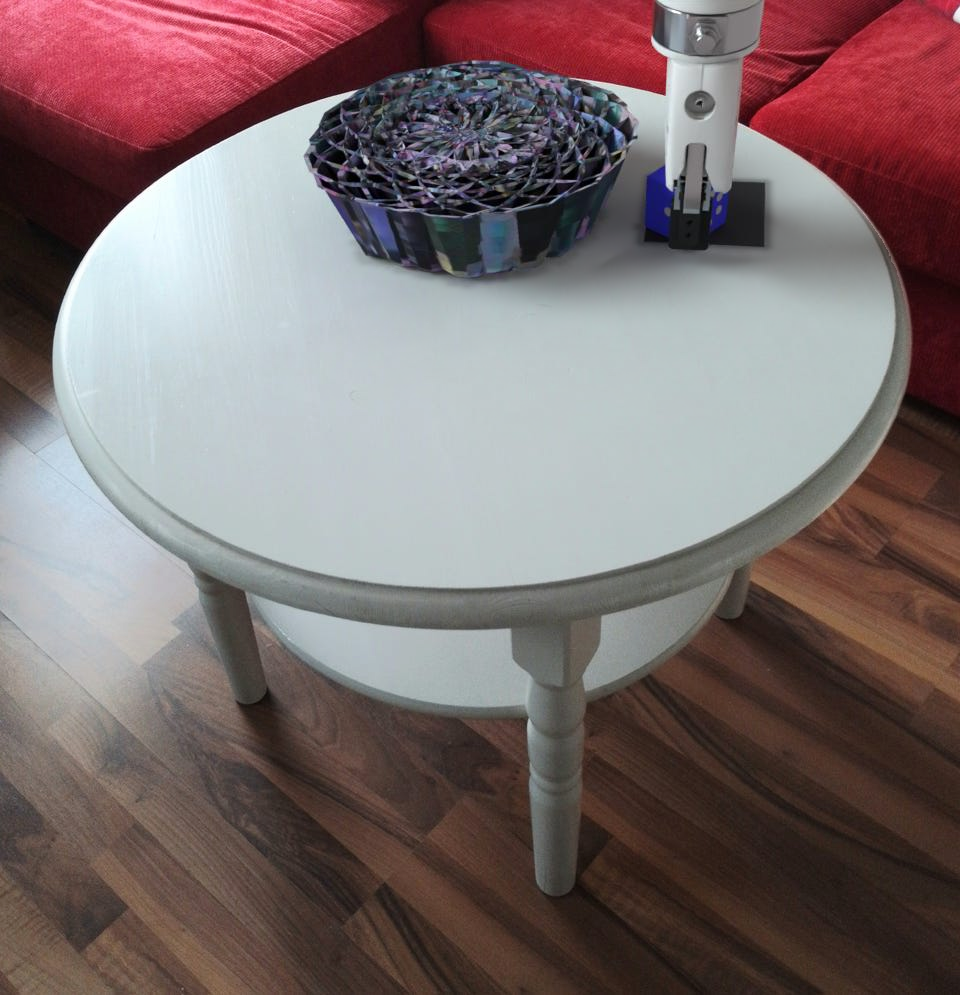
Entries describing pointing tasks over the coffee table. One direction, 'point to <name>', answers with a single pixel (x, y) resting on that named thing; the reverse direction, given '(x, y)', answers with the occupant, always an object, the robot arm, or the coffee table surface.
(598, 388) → the coffee table surface
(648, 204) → the die
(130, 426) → the coffee table surface
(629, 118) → the decorative bowl
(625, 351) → the coffee table surface
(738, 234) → the pad
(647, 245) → the coffee table surface
